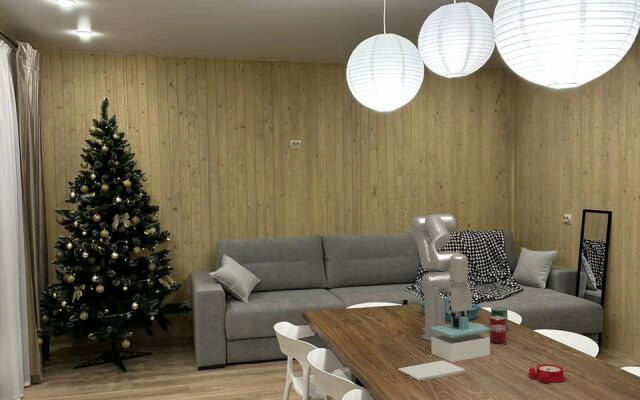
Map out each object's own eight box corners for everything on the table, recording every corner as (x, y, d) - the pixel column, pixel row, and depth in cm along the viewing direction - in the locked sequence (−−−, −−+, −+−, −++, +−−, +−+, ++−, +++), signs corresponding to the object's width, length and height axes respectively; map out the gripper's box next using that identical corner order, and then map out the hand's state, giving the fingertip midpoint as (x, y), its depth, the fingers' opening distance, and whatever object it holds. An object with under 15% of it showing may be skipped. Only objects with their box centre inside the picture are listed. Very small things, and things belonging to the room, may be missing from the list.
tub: (451, 363, 236) (451, 344, 236) (431, 355, 249) (431, 336, 248) (490, 356, 244) (489, 337, 244) (468, 348, 257) (468, 330, 257)
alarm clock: (573, 370, 213) (543, 367, 207) (570, 387, 213) (540, 384, 207) (552, 362, 223) (522, 359, 217) (549, 379, 222) (519, 376, 216)
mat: (398, 371, 229) (397, 368, 229) (443, 362, 238) (443, 360, 238) (418, 381, 216) (418, 378, 216) (465, 372, 225) (465, 369, 225)
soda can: (507, 345, 260) (506, 319, 260) (490, 345, 261) (490, 319, 261) (505, 341, 267) (505, 315, 267) (489, 341, 268) (488, 315, 268)
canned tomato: (506, 328, 291) (505, 306, 291) (509, 332, 283) (509, 310, 283) (490, 328, 292) (489, 307, 292) (493, 332, 284) (492, 310, 284)
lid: (450, 339, 236) (450, 322, 236) (430, 331, 249) (429, 315, 249) (492, 332, 245) (492, 316, 245) (470, 324, 258) (470, 309, 258)
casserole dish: (412, 313, 333) (412, 301, 333) (442, 308, 344) (442, 296, 344) (457, 325, 301) (457, 312, 301) (488, 319, 312) (488, 306, 312)
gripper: (448, 287, 239) (449, 331, 240) (479, 283, 246) (480, 325, 247) (437, 284, 246) (438, 327, 247) (468, 280, 253) (469, 322, 253)
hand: (459, 326), depth 247 cm, fingers closed on lid, 3 cm apart
